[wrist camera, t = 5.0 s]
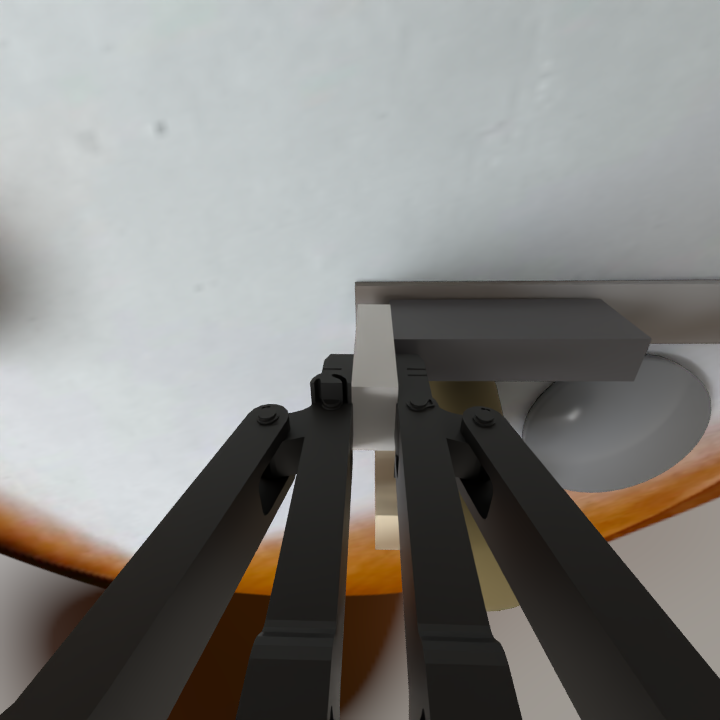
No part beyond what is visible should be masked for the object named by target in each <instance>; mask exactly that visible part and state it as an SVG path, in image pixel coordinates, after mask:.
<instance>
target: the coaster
mask: <svg viewBox="0 0 720 720" xmlns="http://www.w3.org/2000/svg"><path fill="white" fill-rule="evenodd" d="M710 414H711V400H710V397H709V394H708V391H707V390H706V388H705V386H704V385H703V383H702V382H701V381H700V380H699V379H698V378H697V377H696V376H694V375H693V374H692V373H691V372H689V371H688V370H687V369H685V368H684V367H683V366H681V365H680V364H678V363H676V362H674V361H672V360H670V359H667V358H664V357H660V356H655V355H648V354H645V356H644V359H643V361H642V364H641V366H640V368H639V371H638V373H637V375H636V378H635V380H634V381H556V382H555V383H554V384H552V385H551V386H550V387H549V388H548V389H547V390H546V391H545V392H544V393H543V394H542V395H541V396H540V397H539V398H538V399H537V401H536V402H535V403H534V405H533V406H532V408H531V409H530V411H529V413H528V415H527V417H526V420H525V423H524V427H523V432H522V439H523V441H524V442H525V443H526V444H527V446H528V447H529V448H530V449H531V450H532V452H533V453H534V454H535V455H536V456H537V458H538V459H539V460H540V461H541V463H542V464H543V465H544V466H545V467H546V469H547V470H548V471H549V472H550V473H551V475H552V476H553V477H554V478H555V480H556V481H557V482H558V483H559V484H560V486H561V487H562V488H563V489H567V490H570V491H577V492H589V493H593V492H607V491H614V490H619V489H624V488H627V487H631V486H634V485H637V484H640V483H643V482H645V481H647V480H650V479H652V478H654V477H656V476H658V475H660V474H662V473H663V472H665V471H667V470H668V469H670V468H671V467H673V466H674V465H676V464H677V463H678V462H679V461H681V460H682V459H683V458H684V457H685V456H686V455H687V454H688V453H689V452H691V450H692V449H693V448H694V447H695V446H696V445H697V443H698V442H699V440H700V439H701V437H702V436H703V434H704V432H705V430H706V428H707V426H708V423H709V420H710Z"/></svg>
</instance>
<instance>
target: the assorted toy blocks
mask: <svg viewBox="0 0 720 720" xmlns="http://www.w3.org/2000/svg"><path fill="white" fill-rule="evenodd" d="M452 299H601V300H603V301H604V302H605V303H607V304H608V305H609V306H610V307H612V308H613V309H614V310H616V311H617V312H618V313H619V314H621V315H622V316H623V317H625V318H626V319H627V320H628V321H630V322H631V323H632V324H634V325H635V326H636V327H638V328H639V329H640V330H641V331H643V332H644V333H645V334H647V335H648V336H649V337H650V338H652V340H651V342H650V344H720V280H633V281H482V282H355V305H356V322H357V309H358V304H387V305H389V300H452ZM394 463H395V451H375V549H380V550H400V541H399V525H398V509H397V493H396V478H394Z"/></svg>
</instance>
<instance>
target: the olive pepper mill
mask: <svg viewBox="0 0 720 720" xmlns="http://www.w3.org/2000/svg"><path fill="white" fill-rule="evenodd" d="M429 384H430V389H431V394H432V398H434V399H435V400H436V401H437V403H438V405H439V407H440V408H441V409H443V410H446V411H448V412H451V413H455V414H459V415H463V412H464V411H465V410H466V409H468V408H471V407H474V406H483V407H488V408H491V409H493V410H496V411H498V412H499V413H500V414H501V415H502V416H503V413H502V408H501V404H500V400H499V395H498V391H497V387H496V384H495V381H429ZM458 491H459V490H458ZM459 496H460V500H461V504H462V509H463V513H464V517H465V522H466V526H467V530H468V535H469V539H470V543H471V548H472V552H473V556H474V561H475V565H476V569H477V574H478V578H479V582H480V586H481V591H482V595H483V599H484V604H485V608H486V611H500V610H505V609H510V608H514V607H517V606H519V605H520V604H519V603H518V601H517V599H516V597H515V595H514V593H513V591H512V589H511V588H510V586H509V584H508V582H507V580H506V578H505V576H504V574H503V573H502V571H501V569H500V567H499V565H498V563H497V561H496V560H495V558H494V556H493V554H492V552H491V550H490V548H489V546H488V545H487V543H486V541H485V539H484V537H483V535H482V533H481V531H480V530H479V528H478V526H477V524H476V522H475V520H474V518H473V517H472V515H471V513H470V511H469V509H468V507H467V505H466V503H465V502H464V500H463V498H462V496H461V494H460V492H459Z"/></svg>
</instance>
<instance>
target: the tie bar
mask: <svg viewBox="0 0 720 720" xmlns="http://www.w3.org/2000/svg"><path fill="white" fill-rule="evenodd" d="M389 305H390V307H391V317H392V327H393V337H394V348H395V354H418V355H419V356H420V357H421V358H422V359H423V360H424V362H425V366H426V371H427V376H428V380H429V381H634V380H635V378H636V375H637V373H638V371H639V368H640V366H641V364H642V361H643V359H644V356H645V354H646V352H647V349H648V347H649V345H650V342H651V340H652V338H650V337H649V336H648V335H647V334H645V333H644V332H643V331H641V330H640V329H639V328H638V327H636V326H635V325H634V324H632V323H631V322H630V321H628V320H627V319H626V318H625V317H623V316H622V315H621V314H619V313H618V312H617V311H616V310H614V309H613V308H612V307H610V306H609V305H608V304H607V303H605V302H604V301H603V300H601V299H452V300H389Z"/></svg>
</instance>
